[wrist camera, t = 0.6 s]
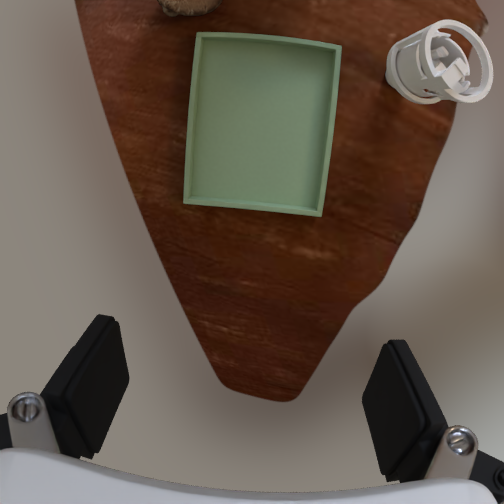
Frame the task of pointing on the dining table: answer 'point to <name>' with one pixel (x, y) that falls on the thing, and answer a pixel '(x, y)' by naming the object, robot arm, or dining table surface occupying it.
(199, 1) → the mushroom
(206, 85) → the tray
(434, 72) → the white open cylindrical frame
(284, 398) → the dining table surface
